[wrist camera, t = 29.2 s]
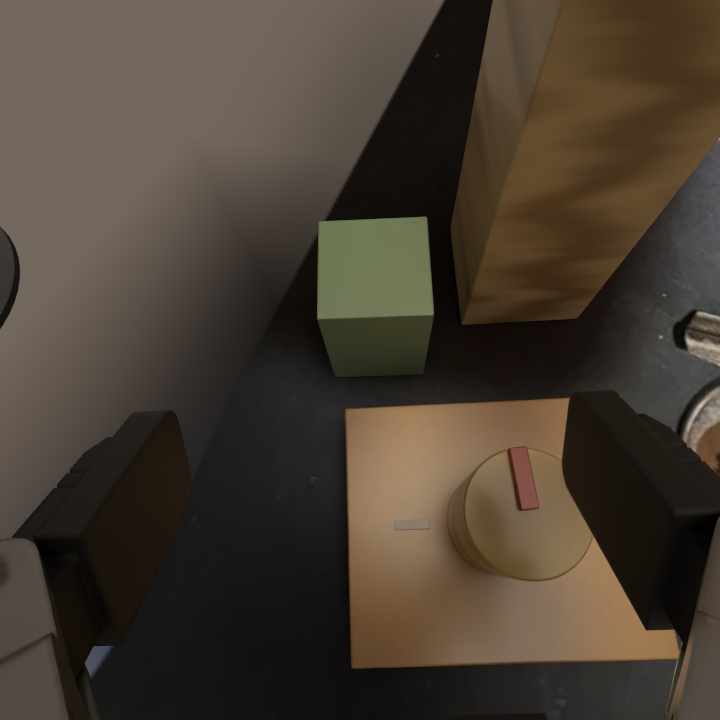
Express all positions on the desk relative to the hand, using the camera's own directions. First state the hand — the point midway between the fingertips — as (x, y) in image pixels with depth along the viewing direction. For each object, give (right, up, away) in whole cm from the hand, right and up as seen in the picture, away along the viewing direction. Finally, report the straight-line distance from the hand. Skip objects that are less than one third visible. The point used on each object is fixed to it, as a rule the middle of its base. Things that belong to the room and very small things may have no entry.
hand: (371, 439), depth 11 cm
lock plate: (+5, -6, +13) cm, 15 cm away
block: (+1, +3, +16) cm, 17 cm away
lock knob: (+5, -5, +10) cm, 12 cm away
